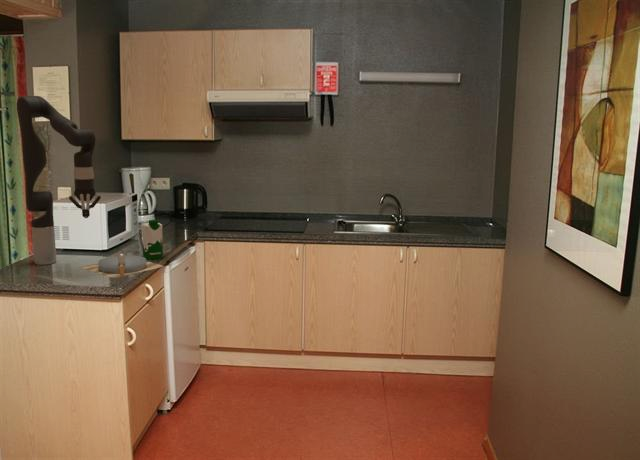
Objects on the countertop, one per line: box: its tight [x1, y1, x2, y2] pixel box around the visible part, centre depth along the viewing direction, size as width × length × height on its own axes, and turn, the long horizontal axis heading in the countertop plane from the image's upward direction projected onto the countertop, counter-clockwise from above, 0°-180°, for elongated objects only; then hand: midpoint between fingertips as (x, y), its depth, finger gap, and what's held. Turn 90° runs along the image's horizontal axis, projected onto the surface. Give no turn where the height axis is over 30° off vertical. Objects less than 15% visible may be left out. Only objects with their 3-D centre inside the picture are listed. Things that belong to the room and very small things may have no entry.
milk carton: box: [140, 219, 164, 261], centre depth 259 cm, size 9×9×20 cm
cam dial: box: [97, 252, 147, 273], centre depth 241 cm, size 20×20×8 cm
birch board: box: [79, 260, 166, 279], centre depth 243 cm, size 26×26×6 cm
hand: (86, 217), depth 231 cm, fingers closed
